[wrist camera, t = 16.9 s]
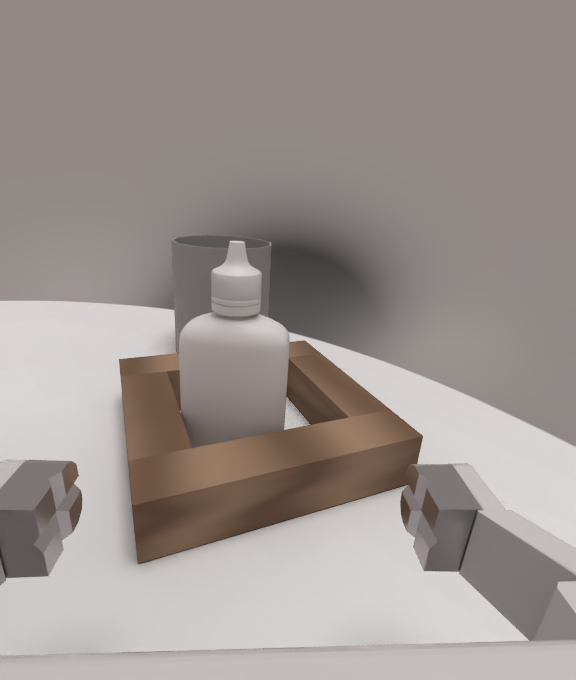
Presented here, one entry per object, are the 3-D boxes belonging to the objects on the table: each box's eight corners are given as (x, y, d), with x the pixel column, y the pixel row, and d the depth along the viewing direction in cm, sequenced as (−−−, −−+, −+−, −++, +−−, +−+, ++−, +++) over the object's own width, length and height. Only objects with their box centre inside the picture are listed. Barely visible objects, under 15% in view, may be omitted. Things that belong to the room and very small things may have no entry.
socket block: (137, 563, 16) (131, 505, 15) (122, 398, 28) (119, 359, 27) (412, 482, 21) (423, 436, 20) (302, 373, 33) (304, 340, 32)
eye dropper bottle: (222, 420, 26) (222, 233, 22) (294, 452, 23) (311, 245, 19) (170, 453, 22) (159, 237, 18) (249, 496, 20) (257, 254, 15)
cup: (204, 376, 32) (202, 250, 28) (161, 344, 37) (155, 236, 34) (284, 354, 37) (291, 246, 33) (236, 329, 43) (237, 234, 39)
